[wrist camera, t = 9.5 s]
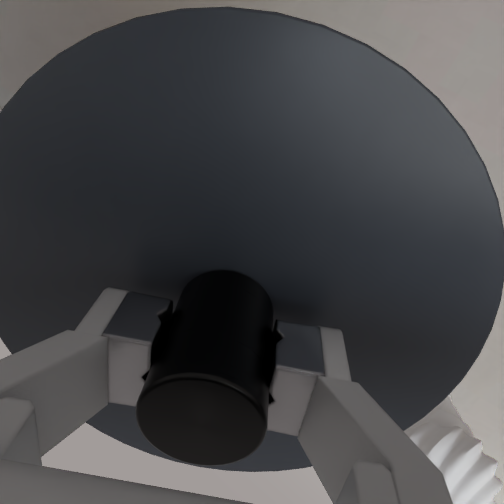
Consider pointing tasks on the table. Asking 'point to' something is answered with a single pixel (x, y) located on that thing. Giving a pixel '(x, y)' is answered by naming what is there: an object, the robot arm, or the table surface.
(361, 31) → the table surface
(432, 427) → the ice cream cone
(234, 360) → the lid
